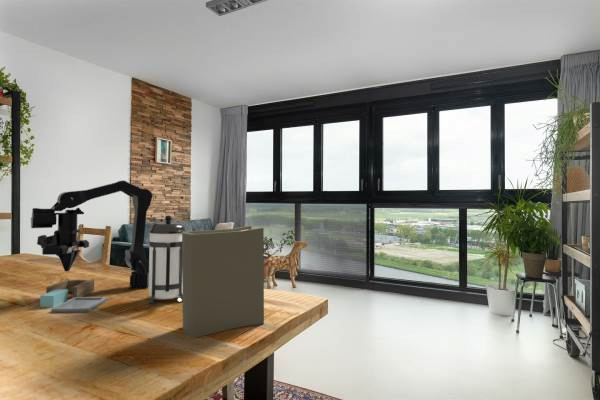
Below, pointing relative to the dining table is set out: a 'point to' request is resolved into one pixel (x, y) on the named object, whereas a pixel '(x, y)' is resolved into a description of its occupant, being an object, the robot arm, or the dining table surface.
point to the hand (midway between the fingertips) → (66, 271)
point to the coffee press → (165, 261)
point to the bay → (74, 286)
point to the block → (54, 298)
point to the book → (222, 279)
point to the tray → (80, 304)
